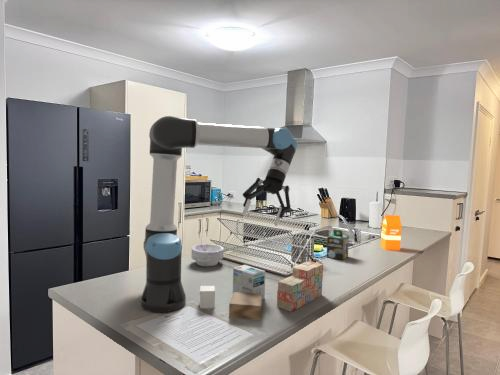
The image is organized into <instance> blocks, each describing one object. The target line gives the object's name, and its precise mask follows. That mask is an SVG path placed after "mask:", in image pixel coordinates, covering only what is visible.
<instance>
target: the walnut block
mask: <svg viewBox="0 0 500 375" xmlns="http://www.w3.org/2000/svg"><path fill="white" fill-rule="evenodd" d="M262 308H263V300H262V294H254V293H239V292H233V291H232V296H231V298H230V301H229V303H228V318H229V319H236V320H237V319H239V320H252V321H260V320H261V316H262Z"/></svg>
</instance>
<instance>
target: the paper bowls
mask: <svg viewBox="0 0 500 375" xmlns="http://www.w3.org/2000/svg"><path fill="white" fill-rule="evenodd" d="M224 250H225V249H224V247H223V246H221V245H218V244H214V243H201V244H200V243H199V244H195V245H193V246H192V247H191V255H190V256H191V259H192V260H193V261H195V263H196V264H197V265H199V266H200V267H213V266H216V265H218V263H219V262H220V261H221V260H223V258H224Z"/></svg>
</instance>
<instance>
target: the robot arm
mask: <svg viewBox="0 0 500 375" xmlns="http://www.w3.org/2000/svg"><path fill="white" fill-rule="evenodd" d="M148 134H149V135H148V136H149V155H150V156H151V157H152V159H153V161H152V162H153V163H152V180H151V182H152V184H151V197H150V198H151V199H150V202H151V203H150V214H149V215H150V216H149V217H150V218H149V219H150V220H149V223H147V225H146V226H145V233H144V234H145V235H144V241H143V251H144V254H145V258H146V261H145V262H146V270H145V271H146V274H145V275H146V276H145V277H146V279H145V280H146V281H145V282H146V283H145V286H144V289H143V292H142V294H141V297H140V307H141V309H143V310H144V311H147V312H151V313H169V312H174V311H177V310H179V309H182V308H183V307H184V306H185V305H186V301H187V297H186V292H185V290H184V287H183V283H182V250H183V245H182V244H183V242H182V239H181V237H180V236H178V227H177V225H175V224H174V219H175V218H174V216H175V201H176V187H177V186H176V185H177V184H176V183H177V170H178V160H179V159H180V158H182V155H183V154H182V153H183V149H184V148H187V149H188V148H189V149H191V148H192V149H194V148H196V147H197V146H209V147H210V146H212V147H230V148H231V147H233V148H235V147H236V148H250V149H251V148H254V149H255V148H256V149H262V150H264V151H266V152H267V153H268V154H270V155H273V157H272V160H271V162H270V165H269V169H268V171H267V172H266V174H265V175H266V176H265V178H264V180H263V179H261V178H260V177H256V180H255V181H254V182H253V183H252V184H251V185H250V186H249V187H248V188H247V189H246V190H245V191H244V192H243V193H242V196H243V198H244V202H243V211H242V213H241V214H242V216H244V217H246V216H247V214H248V211H249V208H250V206H251V204H252V201H251V200H253V199H255V198H256V197H258V196H259V195H261V194H264V193H267V194H271V195H276V197H277V199H278V202H279V204H280V206H281V208H279V209H278V212H277V213H276V214H277V215H276V217H275V220H274V222H273V225H274V226H275V227H278V224H279V222H280V219H283V218H284V216H285V213H286V212H291V210H292V208H291V200H290V186H289V185H284V183H285V180H286V177H287V174H288V172H289V169H290V166H291V163H292V161H293V159H294V156H295V153H296V151H297V148H298V141H297V140H296V139H295V138H294V137H293V135H292V133H291V131H290V129H287V128H285V127H279V128H276V127H262V126H260V125H259V126H247V125H246V126H245V125H235V124H234V125H232V124H216V123H205V122H204V123H203V122H199V121H197V120H196V119H190V118H184V117H178V116H172V115H171V116H170V115H165V116H163V117H161V118H159V119H158V120H156V121H155V122H154V123H153V124H152V125H151V127H150V128H149V133H148ZM260 185H262V186H260ZM259 186H260V187H259ZM258 187H259V188H258ZM257 188H258V189H257ZM282 190H283V192H284V197H285V203H286V206H285V204H284V201H283V199H282V196H281V195H280V194H281V193H280V191H282Z"/></svg>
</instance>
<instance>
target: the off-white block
mask: <svg viewBox="0 0 500 375" xmlns="http://www.w3.org/2000/svg"><path fill="white" fill-rule="evenodd" d="M199 292H200V293H199V309H215V304H216V287H215V285H200V288H199Z"/></svg>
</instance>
